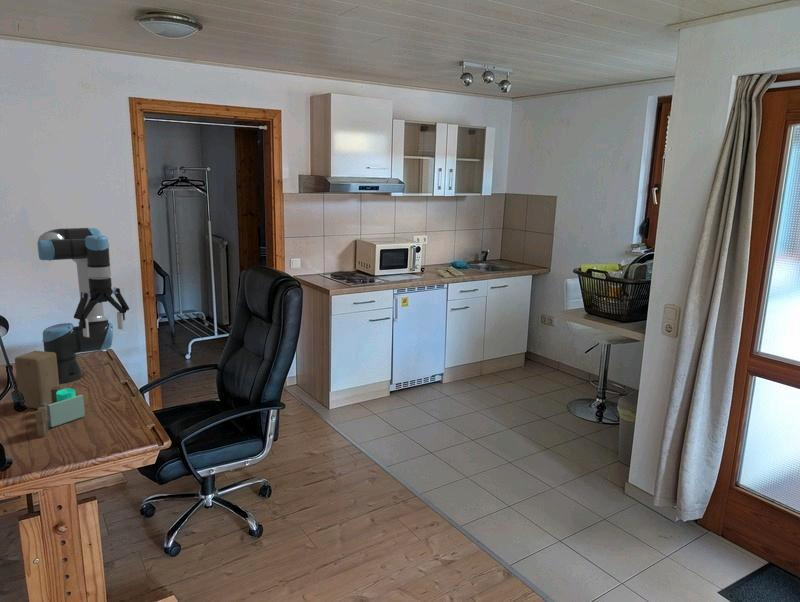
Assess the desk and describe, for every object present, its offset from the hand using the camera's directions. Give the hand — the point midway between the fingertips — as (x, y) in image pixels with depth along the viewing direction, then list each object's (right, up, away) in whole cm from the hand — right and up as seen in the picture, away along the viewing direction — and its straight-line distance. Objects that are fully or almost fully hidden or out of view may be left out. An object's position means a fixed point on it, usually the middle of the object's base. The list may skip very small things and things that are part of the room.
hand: (104, 332), depth 217 cm
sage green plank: (-7, -31, -11) cm, 34 cm away
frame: (-13, -31, -12) cm, 36 cm away
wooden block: (-26, -28, +4) cm, 39 cm away
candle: (-9, -31, -8) cm, 33 cm away
